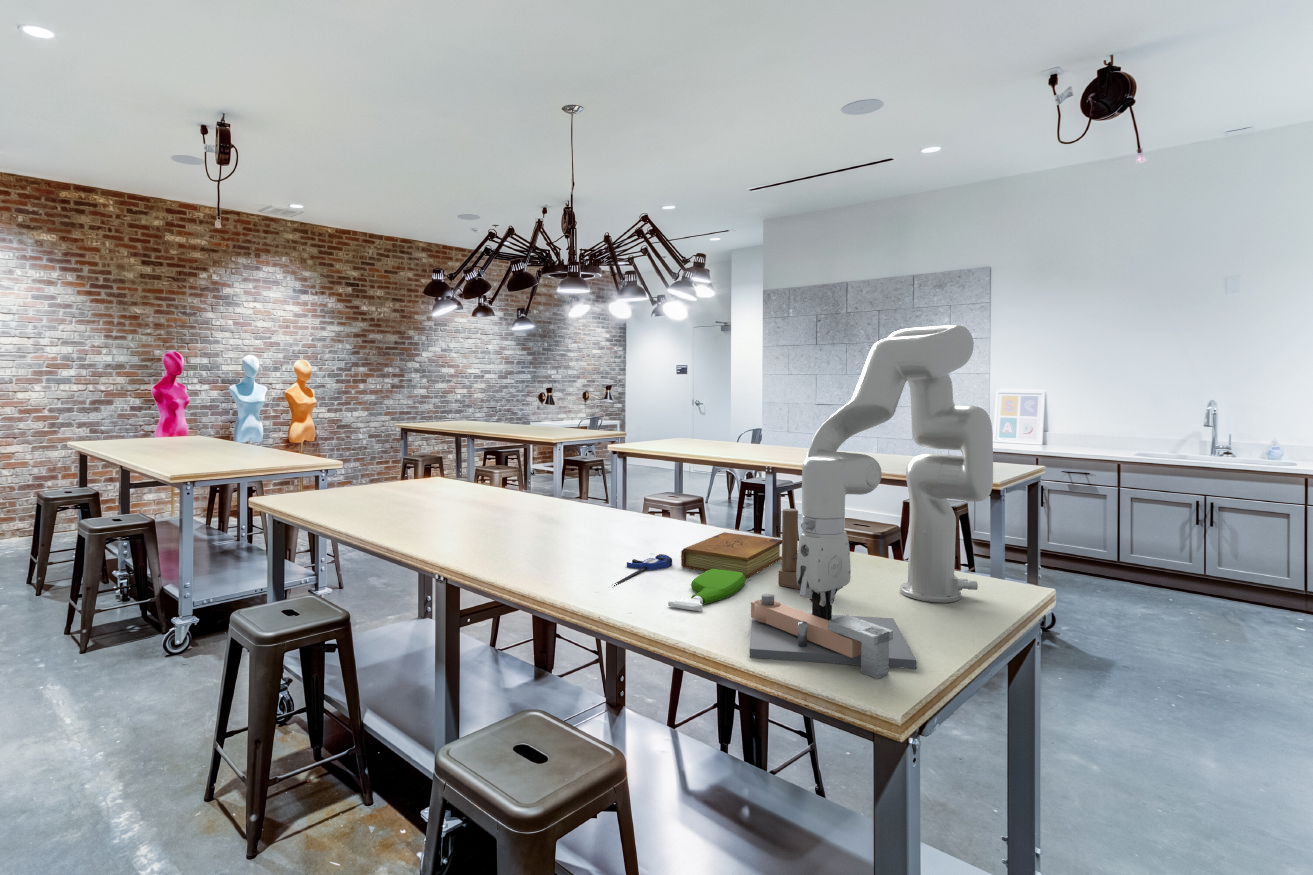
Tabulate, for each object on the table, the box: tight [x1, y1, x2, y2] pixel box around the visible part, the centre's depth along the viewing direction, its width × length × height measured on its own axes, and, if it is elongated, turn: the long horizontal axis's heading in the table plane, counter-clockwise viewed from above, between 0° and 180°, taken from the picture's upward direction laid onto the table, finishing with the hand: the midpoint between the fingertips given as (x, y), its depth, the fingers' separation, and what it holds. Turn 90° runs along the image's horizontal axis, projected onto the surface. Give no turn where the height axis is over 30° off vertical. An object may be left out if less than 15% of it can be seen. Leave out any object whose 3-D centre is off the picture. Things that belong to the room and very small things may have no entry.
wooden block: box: [777, 508, 801, 590], centre depth 149 cm, size 4×11×18 cm, turn 52°
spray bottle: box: [667, 569, 747, 612], centre depth 145 cm, size 3×11×24 cm
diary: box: [680, 531, 782, 579], centre depth 172 cm, size 23×19×6 cm
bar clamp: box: [614, 553, 673, 587], centre depth 160 cm, size 32×2×10 cm
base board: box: [749, 612, 918, 670], centre depth 118 cm, size 27×20×2 cm
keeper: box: [798, 614, 893, 680], centre depth 108 cm, size 14×7×7 cm, turn 35°
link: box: [750, 593, 862, 658], centre depth 116 cm, size 24×5×4 cm, turn 36°
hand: (821, 624), depth 118 cm, fingers closed
